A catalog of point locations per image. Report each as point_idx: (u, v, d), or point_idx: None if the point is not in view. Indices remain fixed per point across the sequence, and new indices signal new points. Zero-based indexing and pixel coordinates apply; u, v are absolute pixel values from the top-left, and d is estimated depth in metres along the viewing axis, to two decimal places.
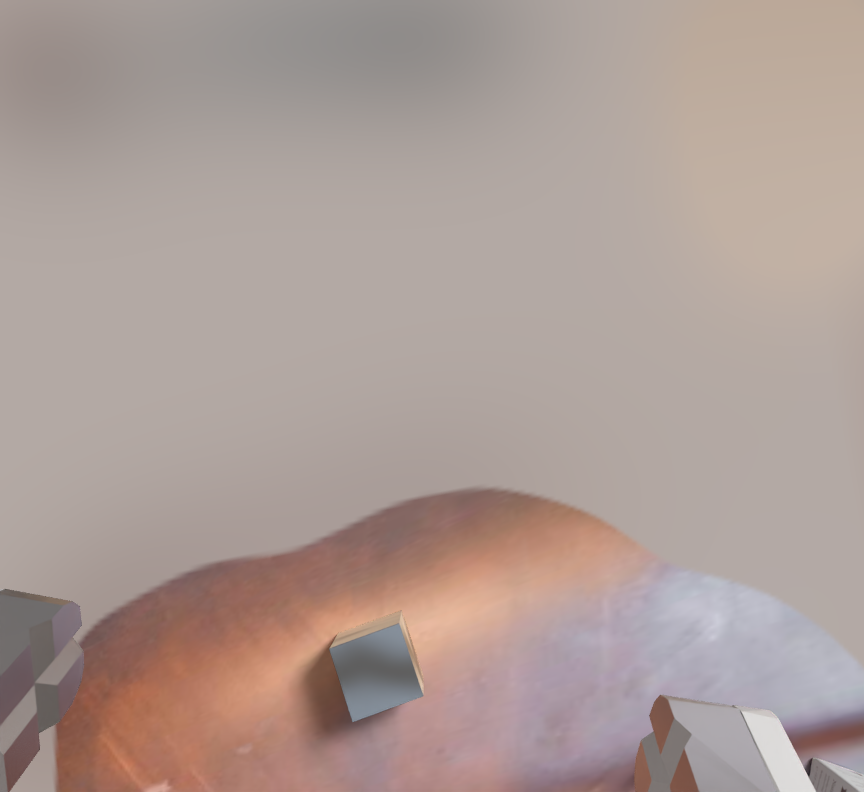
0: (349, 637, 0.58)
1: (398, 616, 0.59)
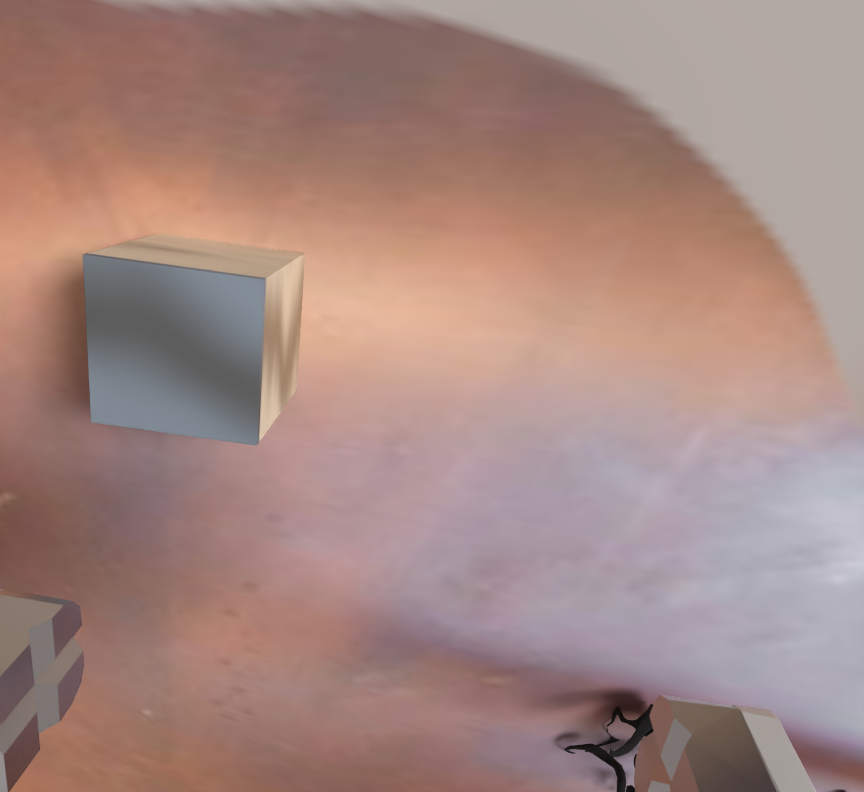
0: (152, 252, 0.24)
1: (284, 262, 0.26)
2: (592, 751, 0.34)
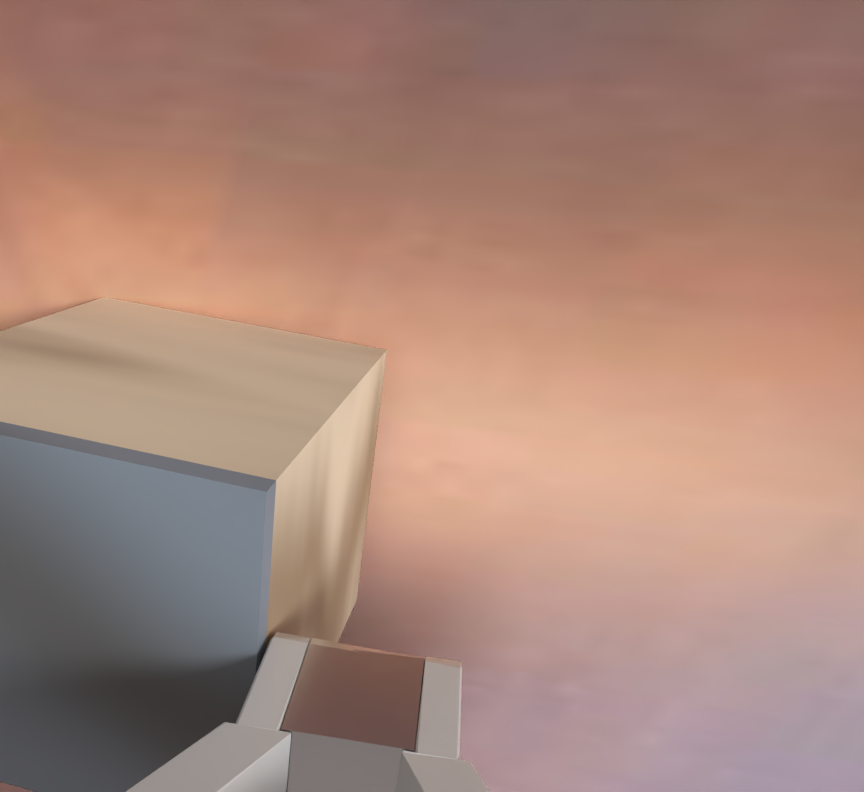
0: (25, 372, 0.10)
1: (336, 393, 0.11)
2: None
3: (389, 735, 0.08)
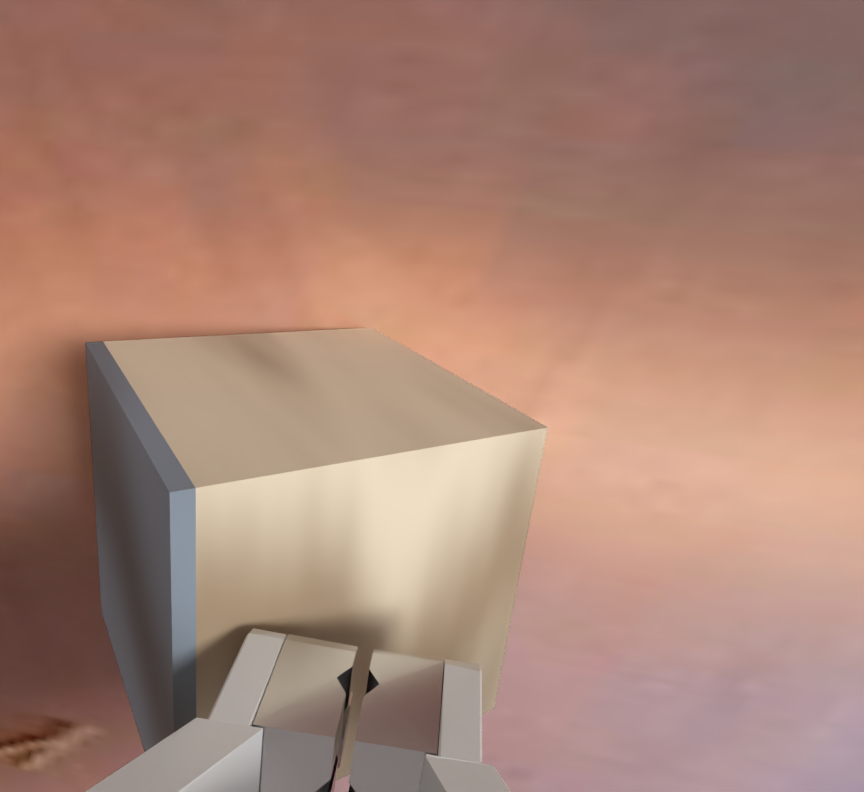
0: (209, 361, 0.12)
1: (401, 446, 0.10)
2: None
3: (411, 739, 0.08)
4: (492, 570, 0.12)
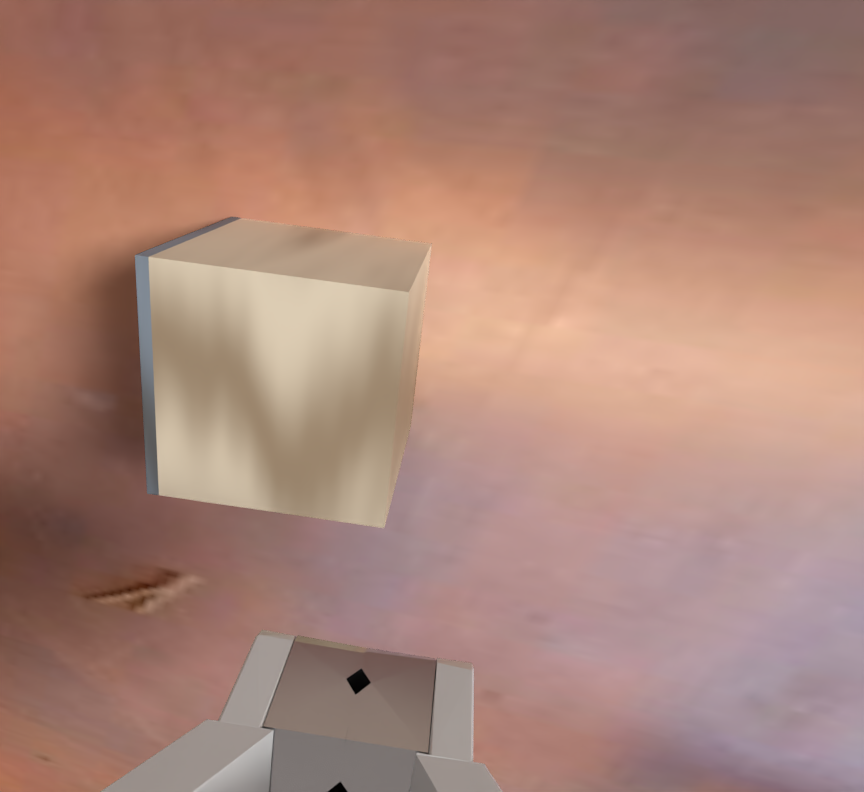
0: (276, 232, 0.19)
1: (286, 273, 0.15)
2: None
3: (402, 737, 0.08)
4: (368, 398, 0.16)
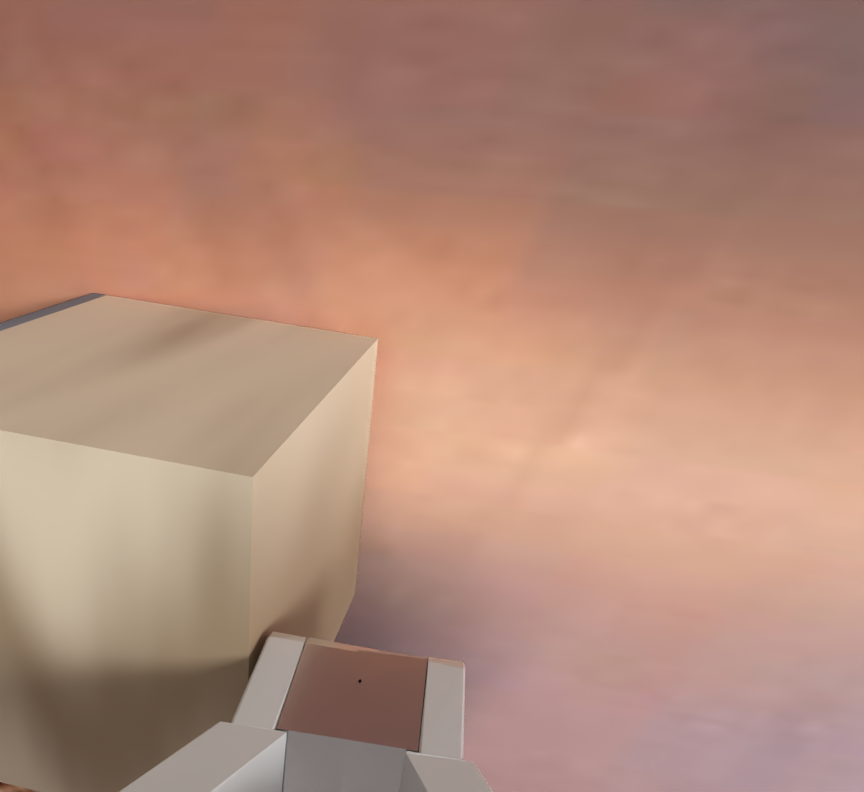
0: (132, 324, 0.12)
1: (43, 430, 0.08)
2: None
3: (392, 735, 0.08)
4: (198, 647, 0.09)
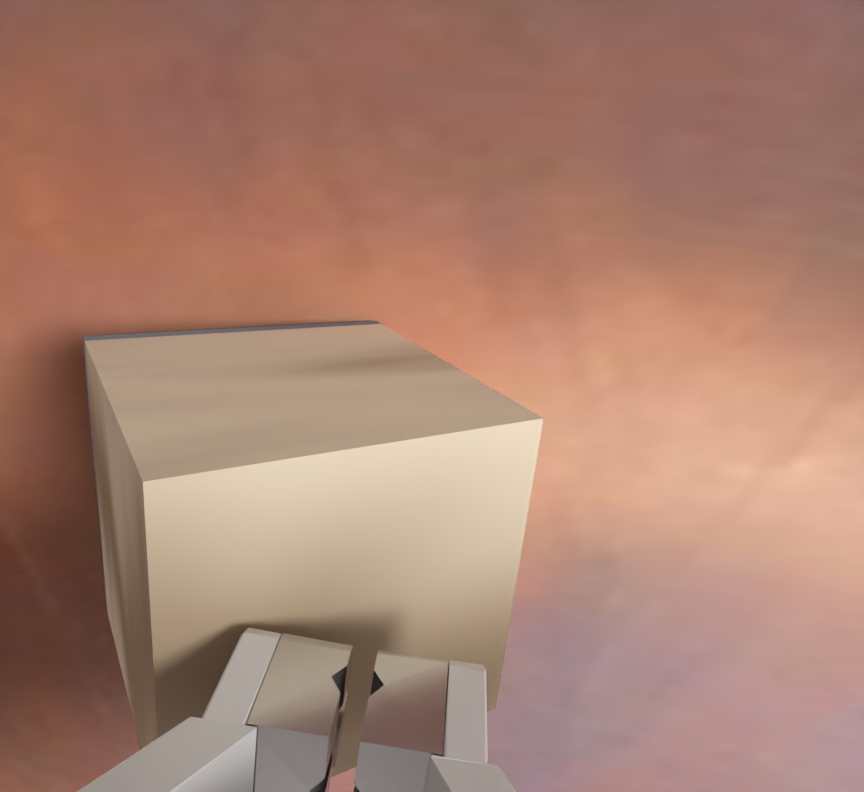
0: (346, 347, 0.13)
1: (121, 397, 0.10)
2: None
3: (416, 739, 0.08)
4: (143, 629, 0.09)
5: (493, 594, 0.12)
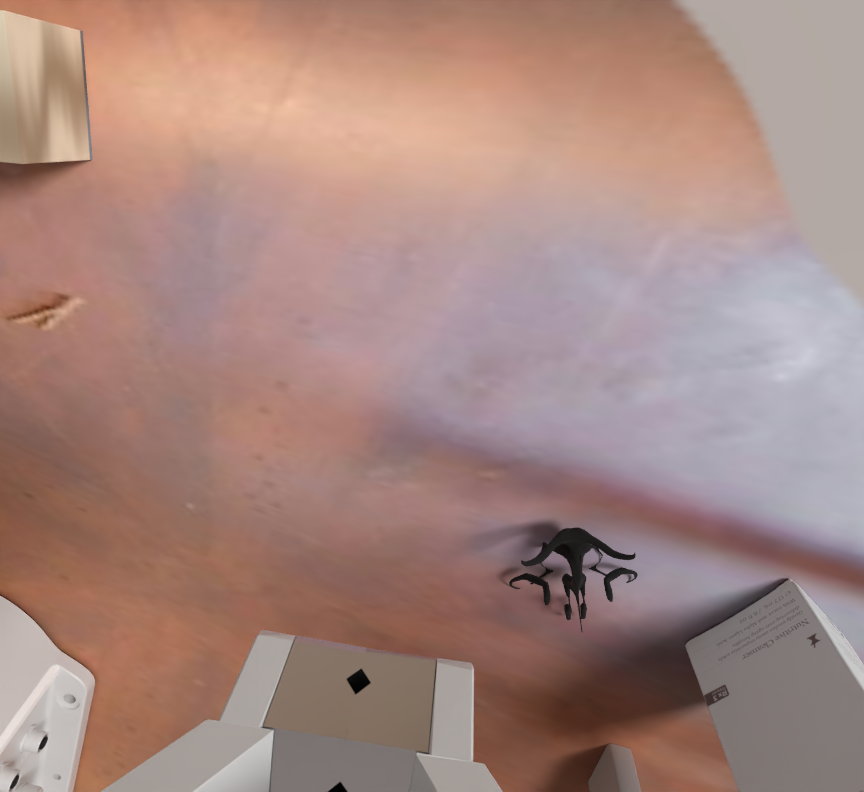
0: None
1: None
2: (526, 578, 0.42)
3: (402, 737, 0.08)
4: None
5: (2, 95, 0.29)
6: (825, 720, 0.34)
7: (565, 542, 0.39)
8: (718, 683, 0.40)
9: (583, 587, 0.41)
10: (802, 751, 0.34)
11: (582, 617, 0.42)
